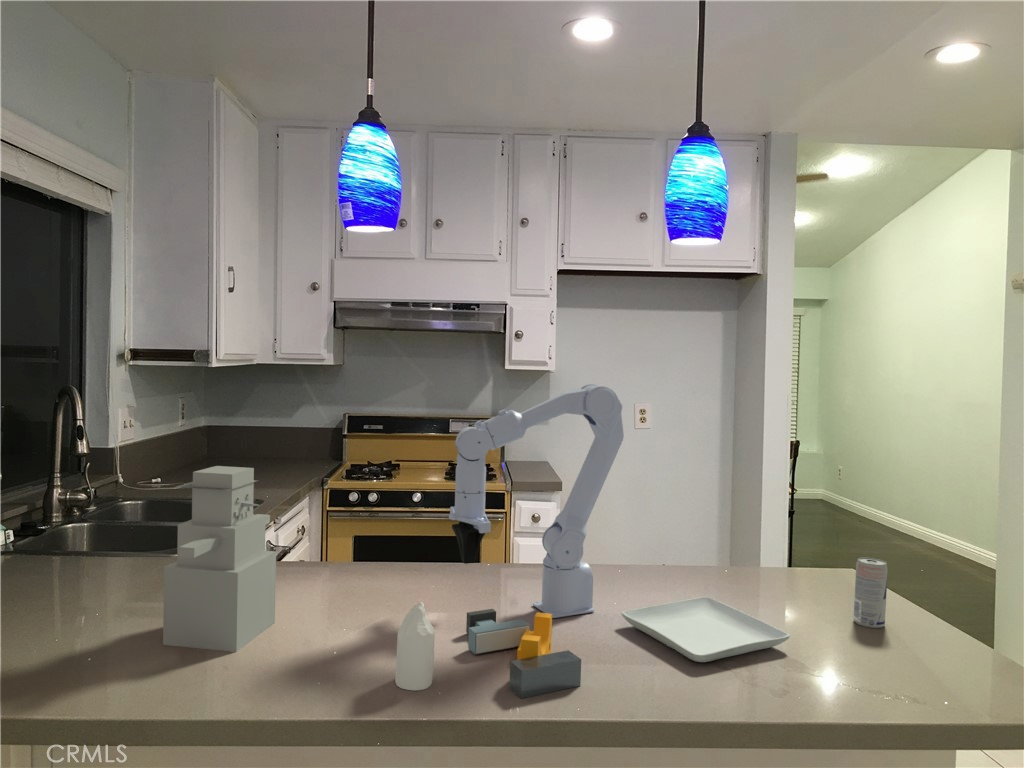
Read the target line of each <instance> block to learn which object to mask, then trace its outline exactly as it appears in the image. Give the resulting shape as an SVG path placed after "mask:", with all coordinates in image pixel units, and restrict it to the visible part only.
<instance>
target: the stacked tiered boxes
mask: <svg viewBox="0 0 1024 768" xmlns="http://www.w3.org/2000/svg"><path fill="white" fill-rule="evenodd" d="M254 472H255V468H254V467H244V466H243V467H242V466H241V467H240V466H225V465H224V466H223V465H215V466H211V467H207V468H203V469H199V470H196V471H193V472H192V481H191V482H187V483H183V484H180V485H177V486H175V488H181V489H182V488H183V489H184V488H185V489H191V491H192V492H191V493H192V495H191V499H192V500H191V519H189V520H187V521H184V522H181V523H178V524H177V541H176V542H177V543H176V544H177V550H176V551H177V555H176V557H177V558H176V559H177V560H176V561H173V562H172V563H169V564H167V565H164V566H163V610H162V611H163V612H162V613H163V617H162V619H163V621H162V623H163V625H162V627H163V629H162V630H163V631H162V645H163V646H170V647H171V646H173V647H181V648H182V647H183V648H190V649H191V648H192V649H201V650H213V651H220V652H221V651H222V652H230V653H231V652H232V653H237V652H239V651H240V650H241V649H242V648H244V647H245V646H247V645H248V644H249V643H250V642H252V641H253V640H255V639H256V638H257V637H259V636H260V635H261V634H262V633H264V632H265V631H266V630H268V629H269V628H271V627H272V626H273V625H275V624H276V587H277V586H276V582H277V581H276V579H277V578H276V576H277V575H276V574H277V551H274V550H266V526H267V525H268V524H270V523H271V514H265V513H264V514H262V513H261V514H260V513H257V514H254V507H259V506H260V504H257V503H254V491H255V490H254V489H255V488H254V487H255V483H257V482H259V480H256V479H255V480H254V478H255V473H254Z"/></svg>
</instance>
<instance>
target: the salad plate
mask: <svg viewBox="0 0 1024 768" xmlns="http://www.w3.org/2000/svg"><path fill="white" fill-rule="evenodd" d="M620 614H621V615H622V617H623V618H624V620H625V621H626V622H628V623H629V625H631V626H633V627H634V628H635V629H637V630H639V631H641V632H643V633H645V634H647V635H649V636H650V637H652V638H653V639H656V640H657V641H659V642H661V643H662V644H664V645H665V644H666V645H665V646H668V648H672V649H673V650H674V649H675V650H674V651H676V652H678V653H680V654H681V655H683V656H685V657H686V658H688V659H690V660H691V661H693V662H697V663H707V662H712V661H717V660H720V659H725V658H730V657H735V656H738V655H743V654H746V653H753V652H755V651H760V650H764V649H768V648H773V647H775V646H779V645H781V644H782V643H785V642H786V641H788V640H789V638H790V637H791V635H790V634H789V633H788V632H786V631H784V630H783V629H780V628H777V627H775V626H774V625H772V624H770V623H767V622H765V621H763V620H761V619H759V618H757V617H754V616H752V615H750V614H748V613H746V612H744V611H742V610H740V609H737V608H735V607H733V606H730V605H728V604H726V603H724V602H721V601H719V600H717V599H714V598H713V597H710V596H705V595H704V596H699V597H694V598H688V599H682V600H677V601H676V600H675V601H671V602H666V603H665V602H664V603H659V604H656V605H649V606H644V607H638V608H632V609H627V610H623V611H621V612H620Z"/></svg>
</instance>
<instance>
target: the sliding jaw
mask: <svg viewBox="0 0 1024 768" xmlns="http://www.w3.org/2000/svg"><path fill="white" fill-rule="evenodd" d="M465 627H466V629H465V631H466V634H467V635H468V643H467V644H468V645H467V647H468V648H467V649H468V650H470V651H469V652H471V653H472V654H474V655H480V654H485V653H491V652H497V651H501V650H507V649H512V648H519V645H520V642H521V638H522V636H523V635H524V633H525V631H526V630H529V631H530V629H531V627H530V623H528V621H526V620H524V619H523V618H520V619H515V620H507V621H503V622H497V611H496V610H495V609H494V608H488V609H487V608H486V609H481V610H476V611H475V610H474V611H469V612H468V611H467V612H466V625H465Z"/></svg>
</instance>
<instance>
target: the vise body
mask: <svg viewBox="0 0 1024 768" xmlns="http://www.w3.org/2000/svg"><path fill="white" fill-rule="evenodd" d="M509 663H510V664H509V689H510V690H511V691H512V692H513V693H514V694H516V696H517V697H518V698H520V699H526V698H530V697H531V698H532V697H535V696H540V695H546V694H548V693H554V692H558V691H562V690H567V689H572V688H577V687H580V686H581V681H582V678H581V677H582V675H581V674H582V659H581V658H580V657H578V656H577V655H576V654H574V653H573V652H572V651H570V650H562V651H558V652H557V651H556V652H552V653H551V652H550V654H546V655H541V656H535V657H530V658H525V659H519V660H517V659H516V660H515V659H514V660H510V662H509Z"/></svg>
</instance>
